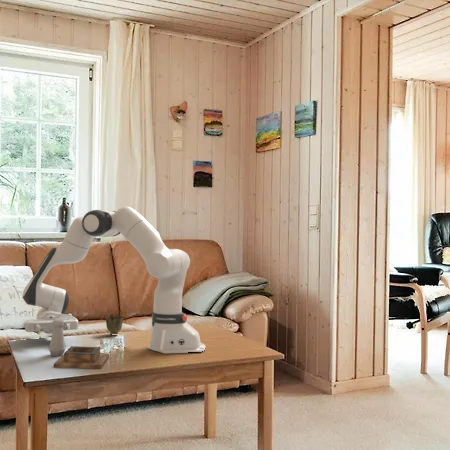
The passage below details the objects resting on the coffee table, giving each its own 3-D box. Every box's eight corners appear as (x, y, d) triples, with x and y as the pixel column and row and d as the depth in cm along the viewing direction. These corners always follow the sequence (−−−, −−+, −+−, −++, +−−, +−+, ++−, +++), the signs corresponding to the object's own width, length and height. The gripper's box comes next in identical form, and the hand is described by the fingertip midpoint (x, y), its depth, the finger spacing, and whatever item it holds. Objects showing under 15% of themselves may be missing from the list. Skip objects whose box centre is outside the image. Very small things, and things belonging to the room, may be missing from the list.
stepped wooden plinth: (108, 356, 214) (109, 345, 214) (101, 368, 198) (101, 356, 198) (64, 355, 213) (65, 344, 213) (53, 367, 197) (53, 354, 197)
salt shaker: (52, 357, 210) (53, 321, 210) (46, 354, 215) (47, 319, 214) (67, 355, 213) (68, 320, 213) (62, 352, 218) (63, 317, 218)
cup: (124, 333, 255) (125, 315, 255) (120, 337, 248) (120, 318, 247) (108, 333, 256) (108, 314, 255) (102, 336, 248) (103, 317, 248)
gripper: (23, 315, 233) (25, 321, 220) (75, 313, 241) (80, 319, 228) (22, 331, 233) (25, 338, 221) (74, 328, 241) (80, 335, 229)
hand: (54, 328), depth 225 cm, fingers open, 8 cm apart
